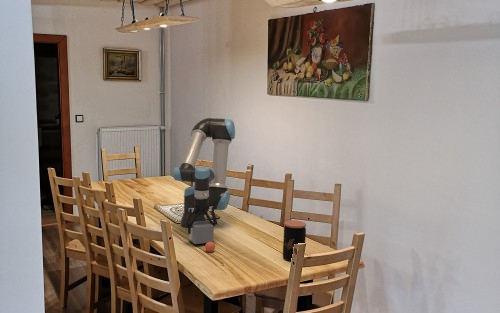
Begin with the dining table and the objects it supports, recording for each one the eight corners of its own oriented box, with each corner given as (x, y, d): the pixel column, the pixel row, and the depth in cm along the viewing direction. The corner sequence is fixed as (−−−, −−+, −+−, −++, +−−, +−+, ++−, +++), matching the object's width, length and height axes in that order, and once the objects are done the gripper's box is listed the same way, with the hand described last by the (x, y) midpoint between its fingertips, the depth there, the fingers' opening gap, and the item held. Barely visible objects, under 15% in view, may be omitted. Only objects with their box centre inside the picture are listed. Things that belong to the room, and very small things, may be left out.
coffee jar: (278, 258, 233) (279, 222, 231) (292, 253, 241) (293, 219, 238) (294, 264, 226) (296, 227, 223) (308, 259, 233) (310, 223, 231)
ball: (203, 250, 240) (203, 241, 239) (212, 249, 242) (213, 240, 241) (206, 253, 236) (207, 244, 235) (216, 252, 238) (216, 243, 237)
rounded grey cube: (188, 238, 253) (188, 222, 252) (206, 236, 258) (206, 220, 257) (194, 244, 244) (194, 227, 243) (213, 242, 249) (213, 225, 247)
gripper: (182, 200, 240) (181, 243, 243) (224, 197, 249) (223, 238, 252) (178, 197, 246) (177, 238, 250) (219, 194, 256) (218, 234, 259)
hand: (200, 238), depth 251 cm, fingers closed on rounded grey cube, 10 cm apart
